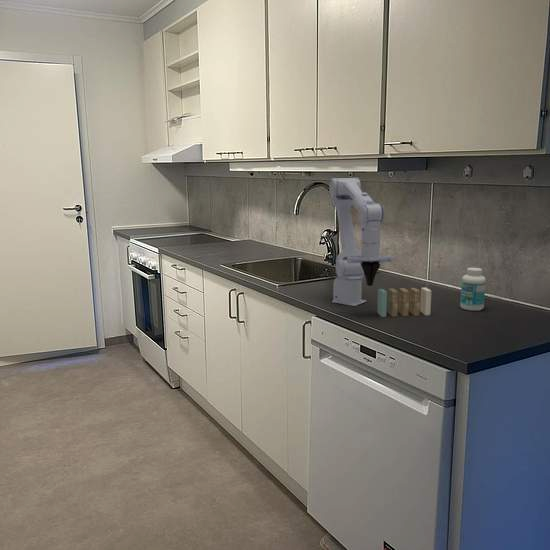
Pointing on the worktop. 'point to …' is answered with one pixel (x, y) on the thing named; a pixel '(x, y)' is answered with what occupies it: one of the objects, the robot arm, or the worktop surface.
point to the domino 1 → (382, 302)
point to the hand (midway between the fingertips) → (369, 285)
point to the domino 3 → (404, 302)
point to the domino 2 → (393, 302)
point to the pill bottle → (473, 290)
